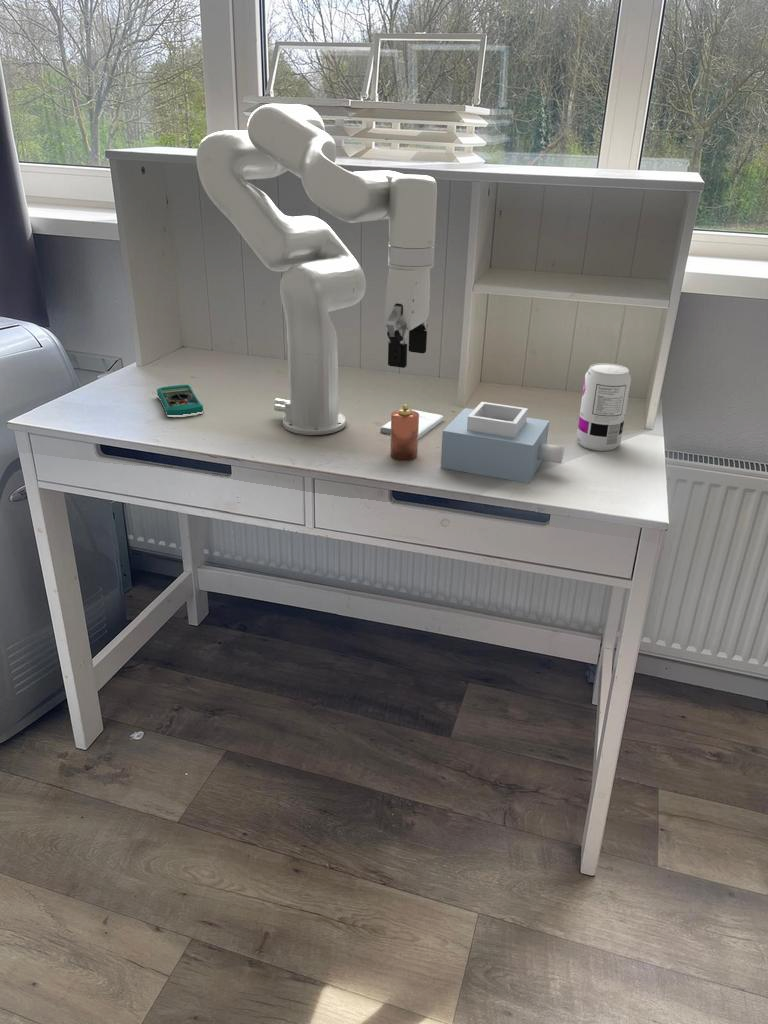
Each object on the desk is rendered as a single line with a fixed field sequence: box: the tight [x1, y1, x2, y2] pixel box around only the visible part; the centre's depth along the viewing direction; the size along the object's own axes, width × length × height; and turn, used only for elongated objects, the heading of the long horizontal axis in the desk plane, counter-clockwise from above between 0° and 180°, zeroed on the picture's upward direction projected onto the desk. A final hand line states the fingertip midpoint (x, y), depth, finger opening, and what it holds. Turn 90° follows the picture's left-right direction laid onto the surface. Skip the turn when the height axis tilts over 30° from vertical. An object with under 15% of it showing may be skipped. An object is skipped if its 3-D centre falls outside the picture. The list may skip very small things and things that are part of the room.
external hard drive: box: [379, 409, 444, 440], centre depth 158 cm, size 2×8×12 cm
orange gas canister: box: [389, 403, 419, 462], centre depth 142 cm, size 5×5×10 cm
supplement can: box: [576, 362, 632, 452], centre depth 147 cm, size 8×8×15 cm
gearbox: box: [440, 401, 565, 484], centre depth 139 cm, size 20×13×10 cm, turn 67°
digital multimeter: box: [156, 384, 204, 416], centre depth 165 cm, size 7×15×3 cm, turn 23°
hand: (407, 359), depth 136 cm, fingers open, 9 cm apart
